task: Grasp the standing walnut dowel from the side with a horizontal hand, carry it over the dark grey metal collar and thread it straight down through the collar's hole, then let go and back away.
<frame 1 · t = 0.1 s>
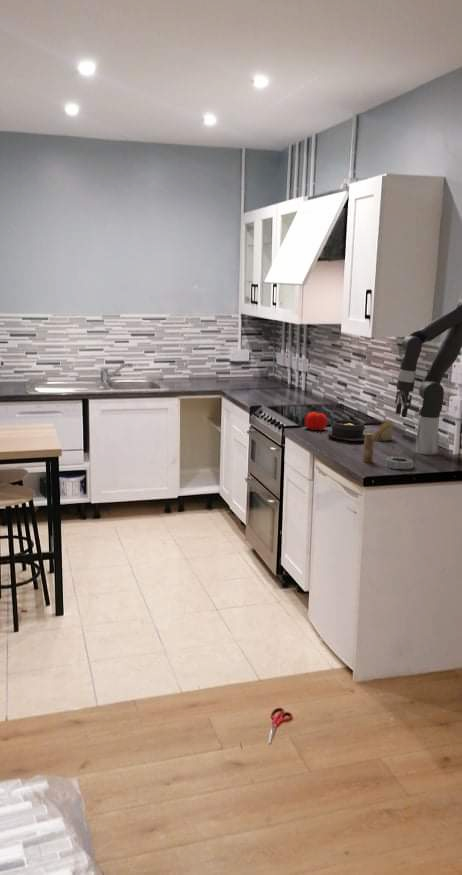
hand: (400, 415, 342), 17 cm above the countertop, tool pointing down, fingers open, 8 cm apart
collar: (398, 466, 317), on the countertop
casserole: (346, 439, 371), on the countertop
rock: (382, 440, 373), on the countertop
dowel: (367, 461, 325), on the countertop
tomato: (315, 429, 392), on the countertop
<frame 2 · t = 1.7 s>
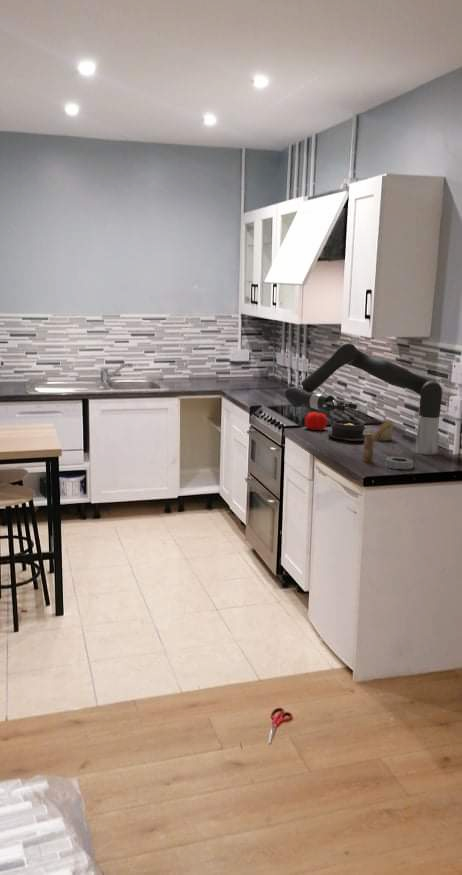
hand: (350, 407, 328), 22 cm above the countertop, tool horizontal, fingers open, 8 cm apart
nothing on the countertop moved.
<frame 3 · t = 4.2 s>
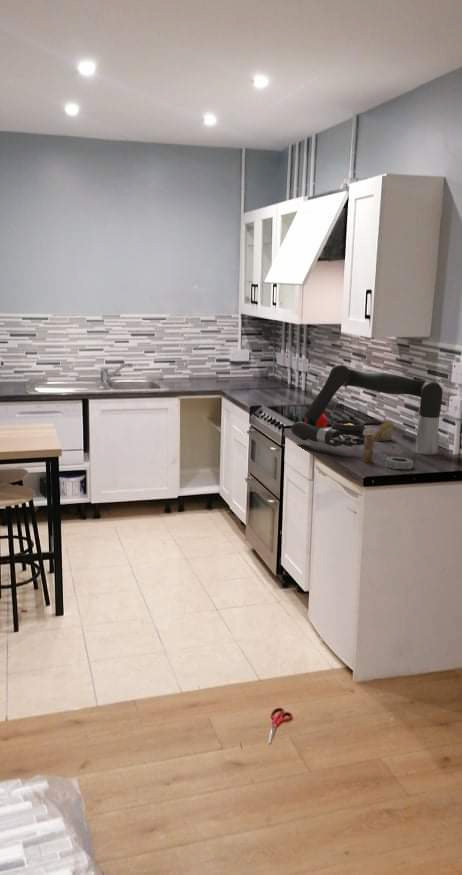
hand: (358, 443, 327), 7 cm above the countertop, tool horizontal, fingers open, 8 cm apart
nothing on the countertop moved.
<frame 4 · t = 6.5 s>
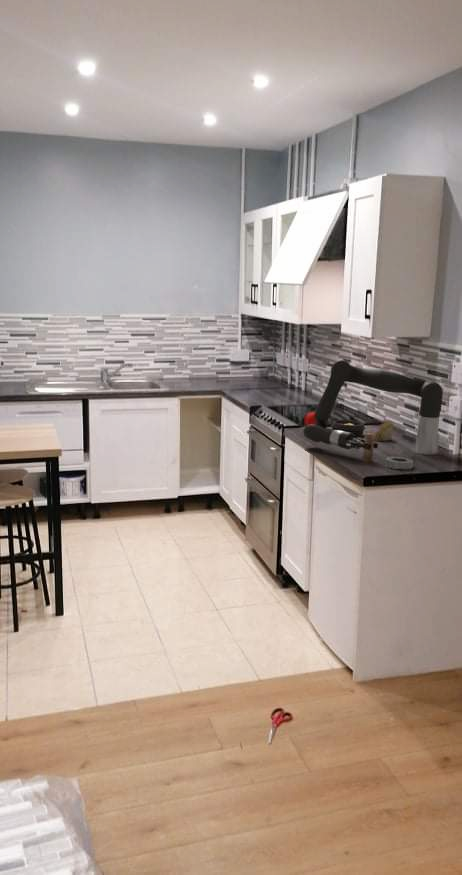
hand: (374, 446, 321), 7 cm above the countertop, tool horizontal, fingers closed on dowel, 4 cm apart
dowel: (367, 461, 325), on the countertop, touching gripper
everything else where it was.
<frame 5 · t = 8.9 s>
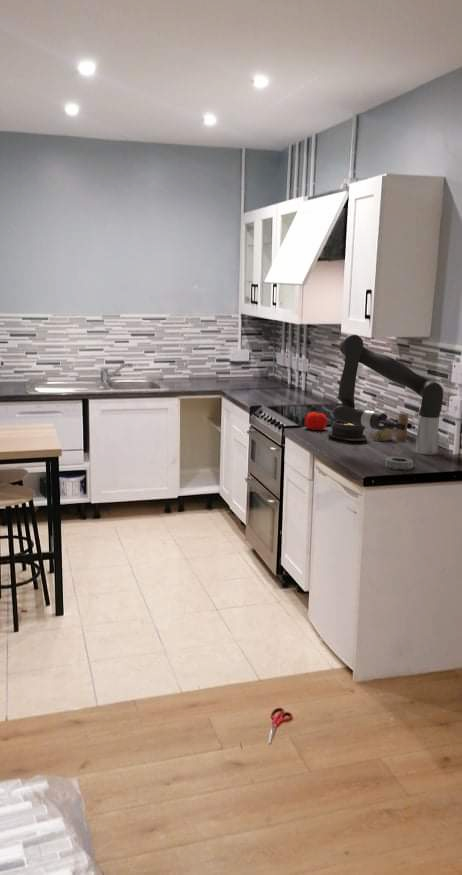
hand: (407, 426, 312), 18 cm above the countertop, tool horizontal, fingers closed on dowel, 4 cm apart
dowel: (400, 442, 315), point 11 cm above the countertop, touching gripper
everything else where it was.
when the fingers open (8 cm above the countertop, at t = 11.3 s): dowel drops 1 cm, resting in collar.
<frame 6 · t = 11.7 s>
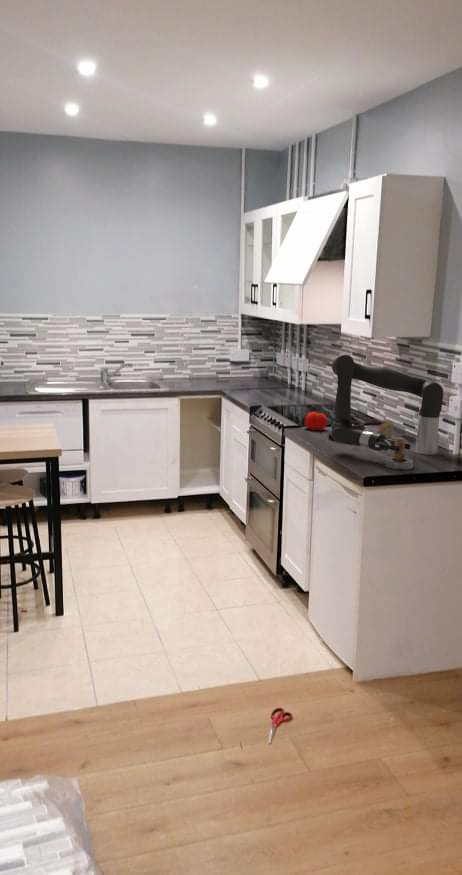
hand: (404, 448, 314), 9 cm above the countertop, tool horizontal, fingers open, 7 cm apart
dowel: (398, 466, 317), resting in collar
everything else where it was.
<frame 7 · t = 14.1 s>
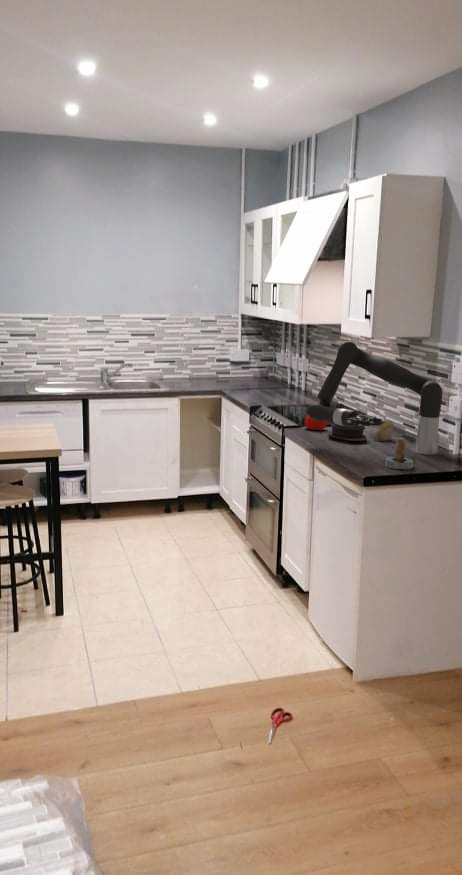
hand: (375, 422, 325), 17 cm above the countertop, tool horizontal, fingers open, 8 cm apart
nothing on the countertop moved.
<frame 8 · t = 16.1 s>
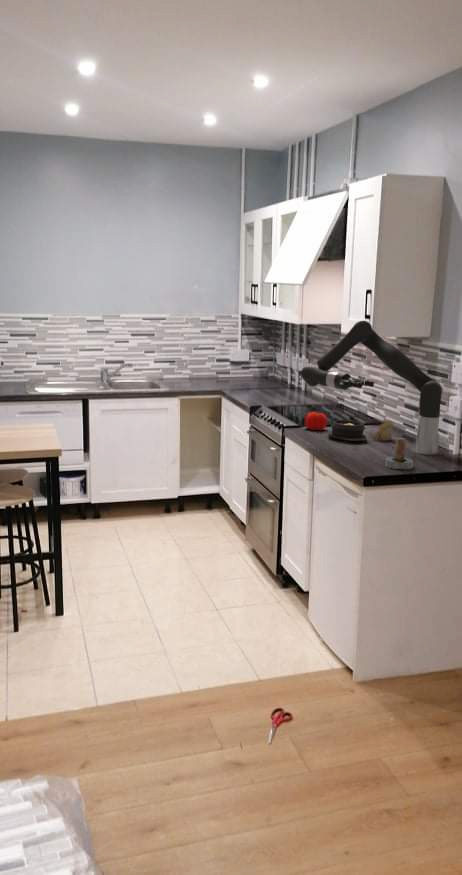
hand: (367, 385, 328), 32 cm above the countertop, tool horizontal, fingers open, 8 cm apart
nothing on the countertop moved.
at the end: dowel 0.1 cm from the collar (horizontally); dowel resting in collar; dowel tilted 1° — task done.
